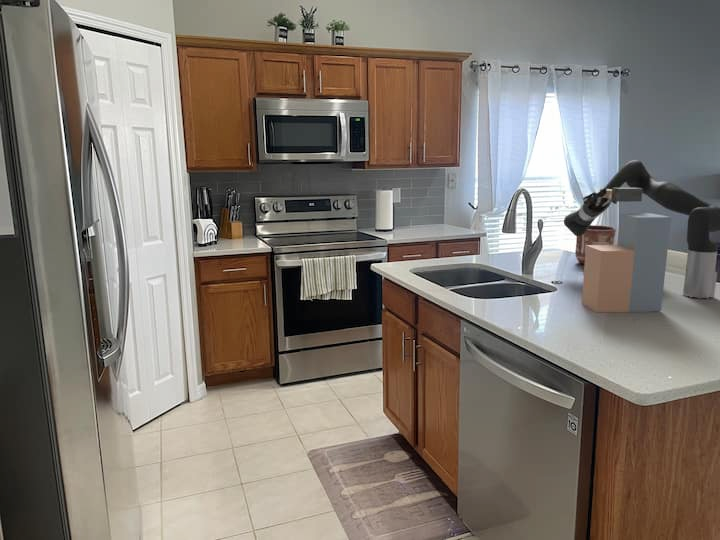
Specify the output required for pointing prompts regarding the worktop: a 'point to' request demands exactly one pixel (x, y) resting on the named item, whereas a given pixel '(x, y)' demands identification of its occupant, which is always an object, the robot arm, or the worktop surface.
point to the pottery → (593, 240)
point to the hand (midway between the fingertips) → (610, 190)
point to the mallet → (624, 194)
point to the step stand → (628, 266)
